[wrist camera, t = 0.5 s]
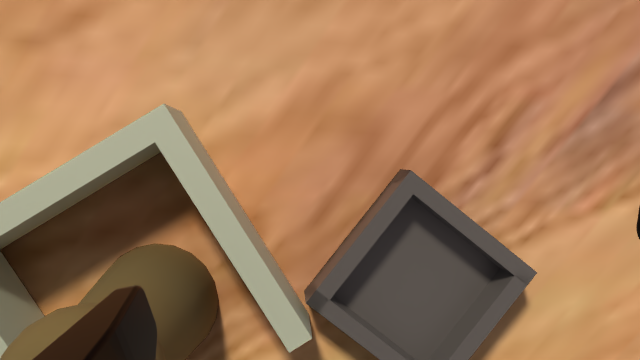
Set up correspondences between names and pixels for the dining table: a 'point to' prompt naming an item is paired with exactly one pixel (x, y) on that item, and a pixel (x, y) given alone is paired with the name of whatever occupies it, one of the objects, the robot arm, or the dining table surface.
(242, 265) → the pale green u-channel
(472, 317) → the dark gray open tray
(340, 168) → the dining table surface
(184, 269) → the cork
